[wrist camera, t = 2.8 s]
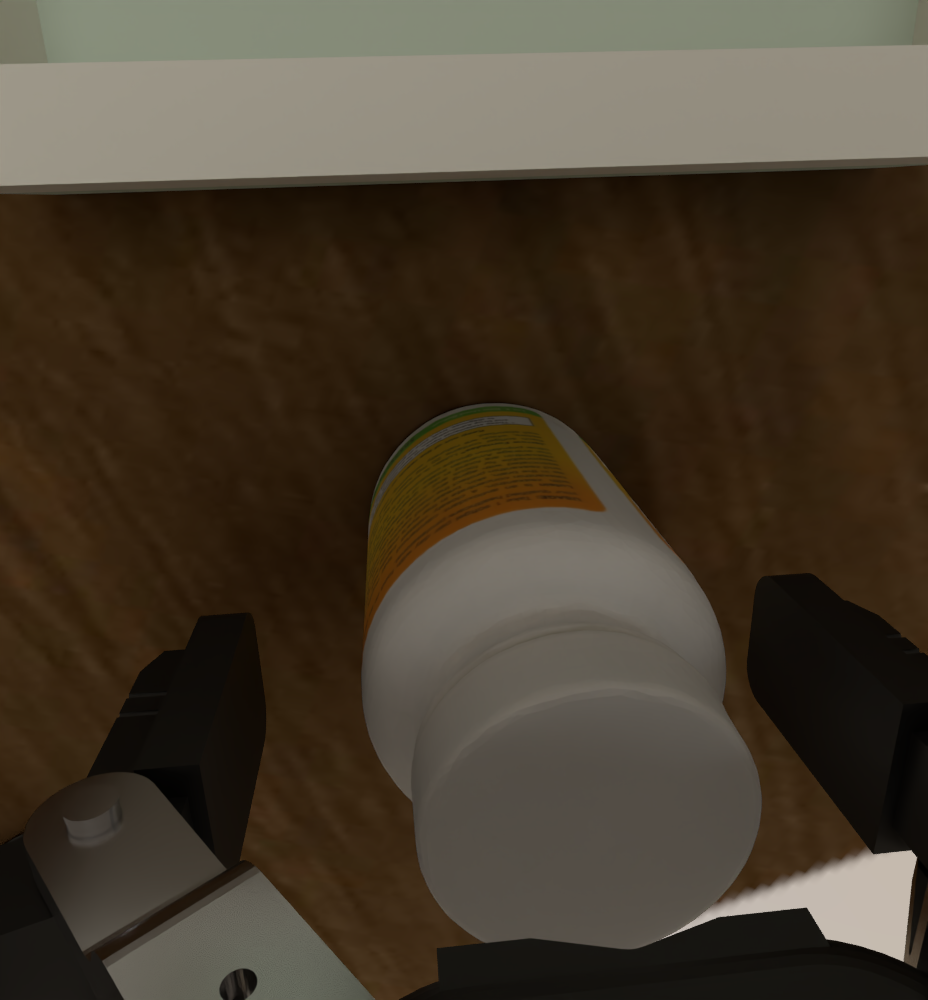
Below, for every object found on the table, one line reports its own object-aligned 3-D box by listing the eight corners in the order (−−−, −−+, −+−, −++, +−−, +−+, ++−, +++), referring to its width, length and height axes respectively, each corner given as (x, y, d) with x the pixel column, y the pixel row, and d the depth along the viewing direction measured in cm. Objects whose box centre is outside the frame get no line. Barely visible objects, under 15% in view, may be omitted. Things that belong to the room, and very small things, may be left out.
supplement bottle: (327, 558, 18) (264, 928, 9) (445, 351, 16) (515, 539, 7) (526, 653, 19) (648, 1056, 10) (651, 469, 18) (923, 749, 9)
